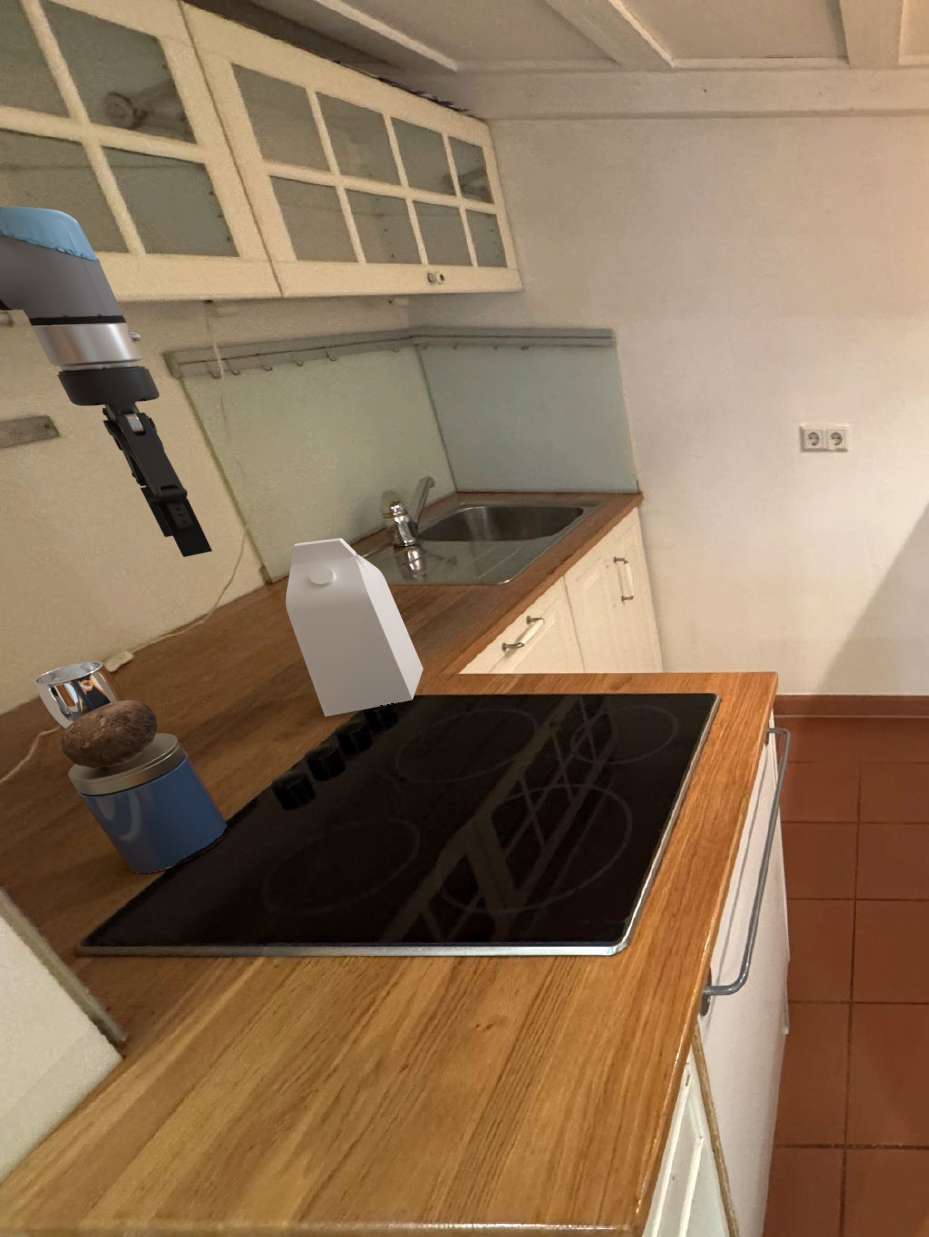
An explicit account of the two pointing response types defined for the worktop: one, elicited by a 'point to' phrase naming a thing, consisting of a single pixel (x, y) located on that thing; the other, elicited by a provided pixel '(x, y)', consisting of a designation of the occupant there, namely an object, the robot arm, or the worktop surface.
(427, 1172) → the worktop surface
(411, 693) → the milk
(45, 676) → the shiny silver metal cup
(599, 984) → the worktop surface
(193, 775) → the jar
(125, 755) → the brown potato
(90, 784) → the jar lid
